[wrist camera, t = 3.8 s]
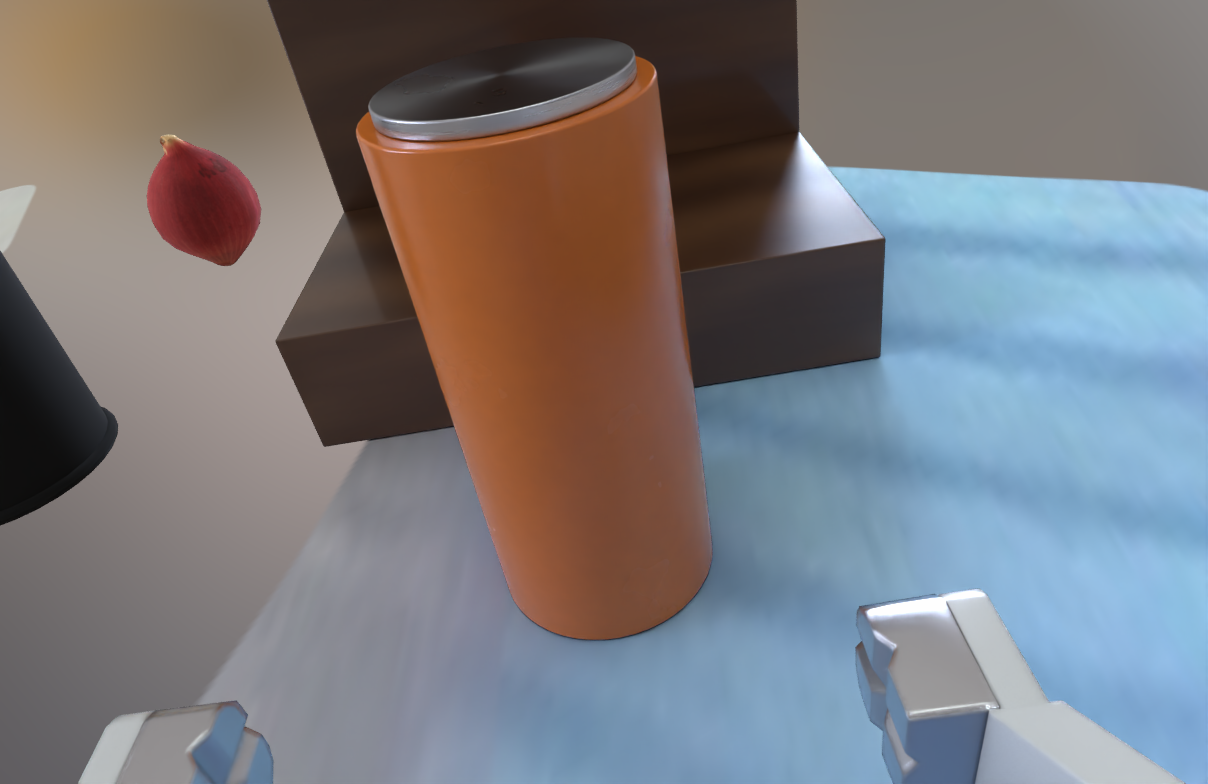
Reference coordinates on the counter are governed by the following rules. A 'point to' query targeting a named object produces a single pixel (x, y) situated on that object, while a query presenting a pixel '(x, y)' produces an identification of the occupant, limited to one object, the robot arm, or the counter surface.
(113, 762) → the robot arm
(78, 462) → the aerosol can
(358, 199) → the shelf
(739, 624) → the counter surface
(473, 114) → the can
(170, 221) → the onion
